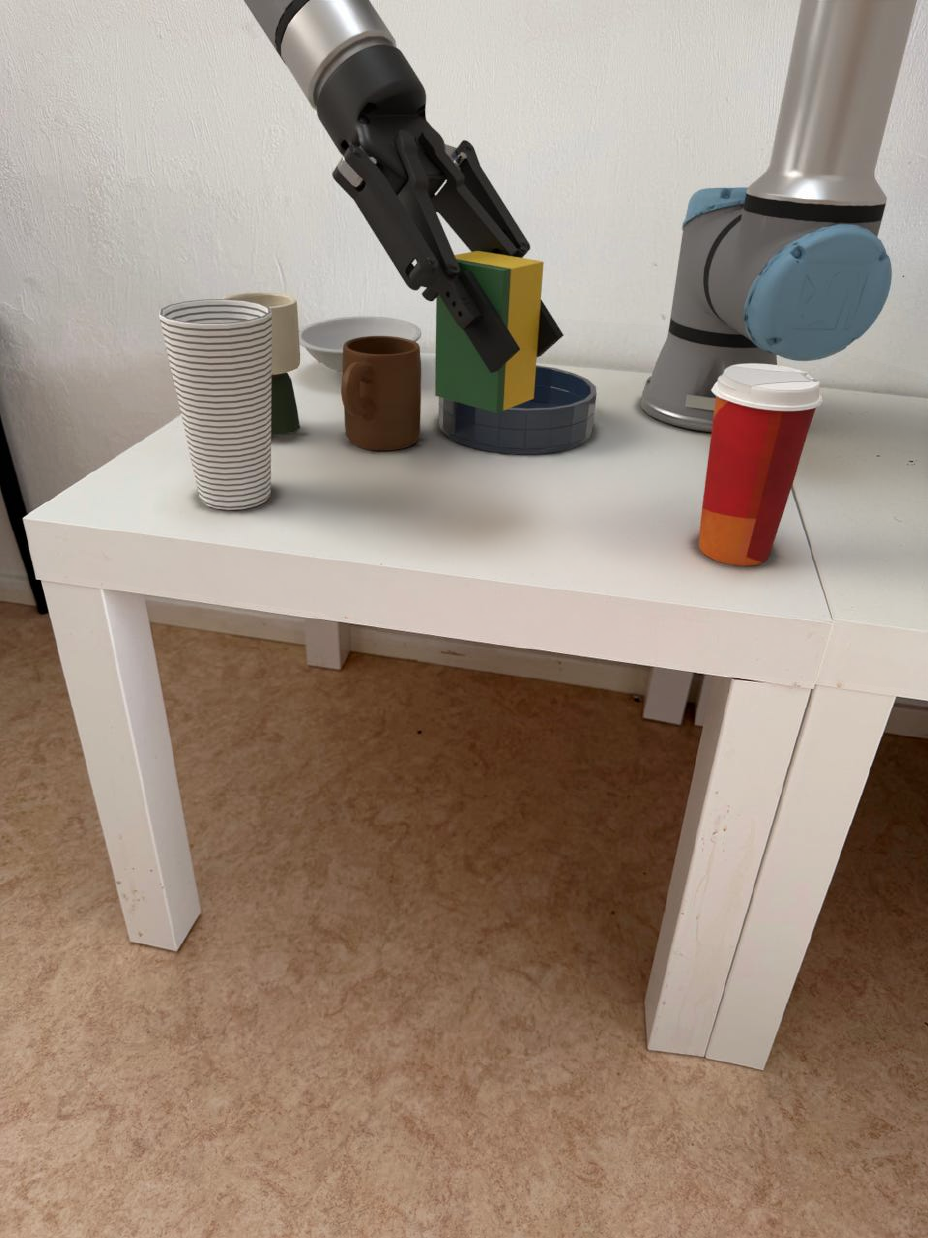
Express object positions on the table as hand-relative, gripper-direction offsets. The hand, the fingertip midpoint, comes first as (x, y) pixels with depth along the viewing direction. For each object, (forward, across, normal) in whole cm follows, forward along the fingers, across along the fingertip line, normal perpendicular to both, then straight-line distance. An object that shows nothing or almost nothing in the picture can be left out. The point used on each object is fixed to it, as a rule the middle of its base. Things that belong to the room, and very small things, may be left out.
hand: (527, 353), depth 64 cm
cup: (-5, +10, -26) cm, 29 cm away
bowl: (0, -21, -21) cm, 30 cm away
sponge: (0, 0, -6) cm, 6 cm away
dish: (-18, -24, -39) cm, 49 cm away
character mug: (-12, -2, -33) cm, 36 cm away
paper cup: (+21, -10, 0) cm, 23 cm away
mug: (-5, -7, -26) cm, 27 cm away
